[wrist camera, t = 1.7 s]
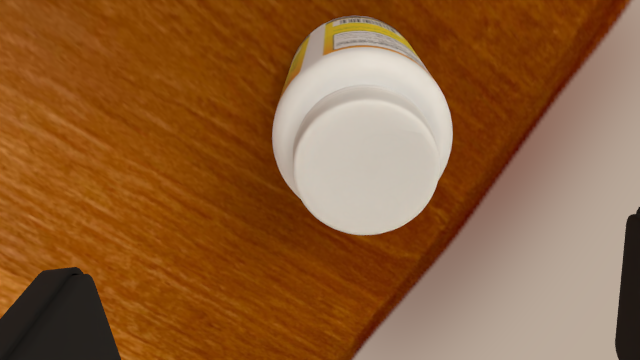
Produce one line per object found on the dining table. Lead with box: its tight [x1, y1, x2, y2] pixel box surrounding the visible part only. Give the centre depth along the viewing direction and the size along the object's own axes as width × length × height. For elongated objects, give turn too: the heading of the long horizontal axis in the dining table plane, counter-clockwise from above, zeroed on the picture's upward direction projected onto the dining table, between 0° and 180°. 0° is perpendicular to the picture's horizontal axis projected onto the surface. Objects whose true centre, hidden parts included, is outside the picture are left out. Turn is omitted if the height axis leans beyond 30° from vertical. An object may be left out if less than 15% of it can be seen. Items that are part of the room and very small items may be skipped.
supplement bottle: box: [272, 16, 453, 235], centre depth 19 cm, size 6×6×10 cm
